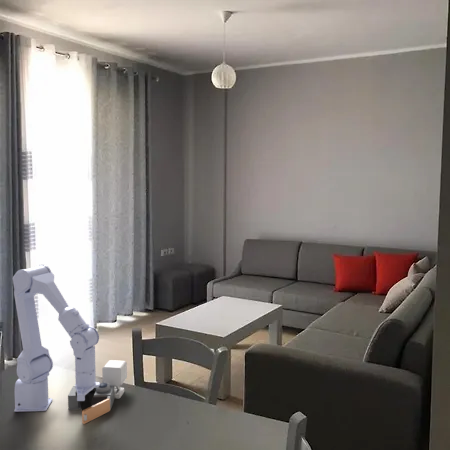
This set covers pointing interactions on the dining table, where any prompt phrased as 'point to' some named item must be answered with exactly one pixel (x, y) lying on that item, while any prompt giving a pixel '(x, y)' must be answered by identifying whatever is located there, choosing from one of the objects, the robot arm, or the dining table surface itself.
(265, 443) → the dining table surface
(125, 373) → the security camera
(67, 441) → the dining table surface
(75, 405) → the housing
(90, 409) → the hatch
